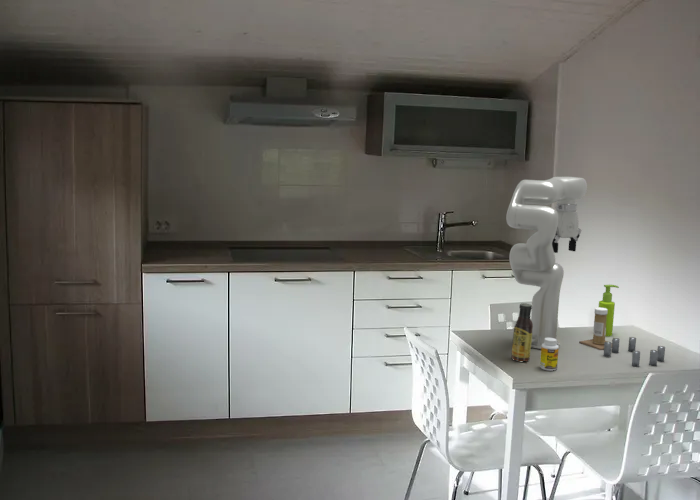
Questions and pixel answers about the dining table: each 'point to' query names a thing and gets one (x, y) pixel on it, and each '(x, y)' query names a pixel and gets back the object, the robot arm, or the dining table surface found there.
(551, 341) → the supplement bottle
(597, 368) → the dining table surface
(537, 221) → the robot arm
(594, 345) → the walnut pad
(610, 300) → the soap dispenser
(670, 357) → the dining table surface
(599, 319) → the sprinkles bottle
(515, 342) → the sauce bottle
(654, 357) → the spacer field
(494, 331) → the dining table surface
